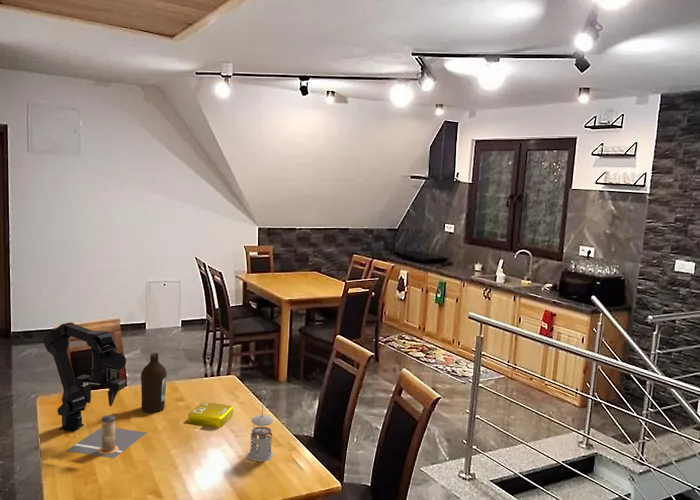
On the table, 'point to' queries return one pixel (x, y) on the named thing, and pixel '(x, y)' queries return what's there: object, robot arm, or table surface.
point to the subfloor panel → (94, 443)
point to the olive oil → (153, 385)
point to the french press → (261, 438)
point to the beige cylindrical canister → (108, 433)
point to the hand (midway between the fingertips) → (100, 404)
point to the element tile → (210, 415)
